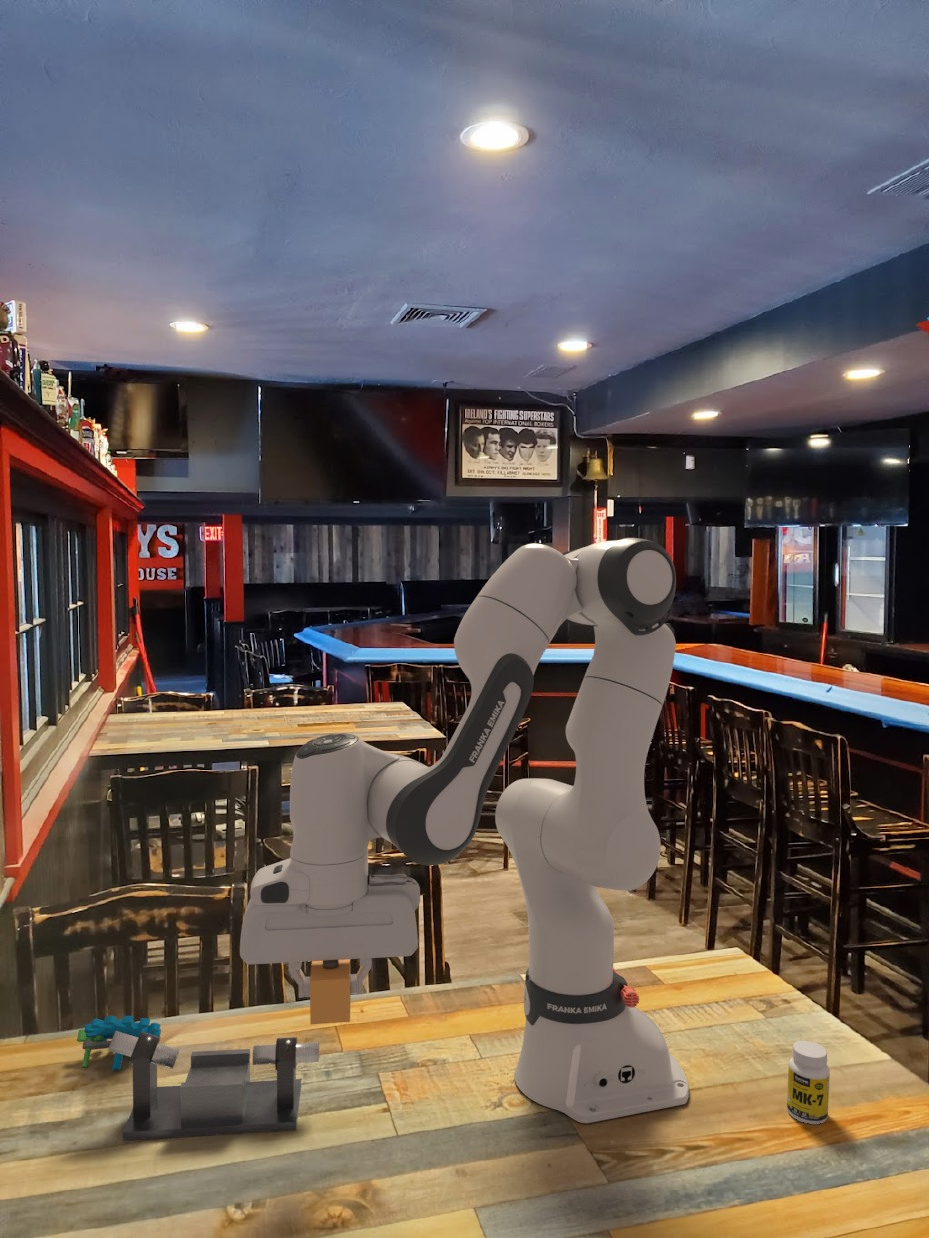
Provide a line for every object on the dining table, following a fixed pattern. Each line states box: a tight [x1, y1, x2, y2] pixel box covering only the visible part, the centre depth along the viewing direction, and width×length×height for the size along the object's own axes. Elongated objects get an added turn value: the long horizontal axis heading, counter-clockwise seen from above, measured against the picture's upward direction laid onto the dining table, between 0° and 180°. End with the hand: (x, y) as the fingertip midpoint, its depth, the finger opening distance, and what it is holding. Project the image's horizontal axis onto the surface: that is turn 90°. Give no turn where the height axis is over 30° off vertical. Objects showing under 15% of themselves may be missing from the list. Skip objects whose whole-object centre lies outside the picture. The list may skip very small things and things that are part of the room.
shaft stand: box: [107, 1031, 321, 1141], centre depth 110 cm, size 25×9×11 cm, turn 97°
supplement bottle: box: [786, 1040, 831, 1125], centre depth 111 cm, size 5×5×8 cm
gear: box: [76, 1015, 162, 1071], centre depth 121 cm, size 11×6×10 cm
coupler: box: [309, 959, 352, 1025], centre depth 103 cm, size 7×4×6 cm, turn 7°
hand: (330, 993), depth 103 cm, fingers closed on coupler, 4 cm apart
